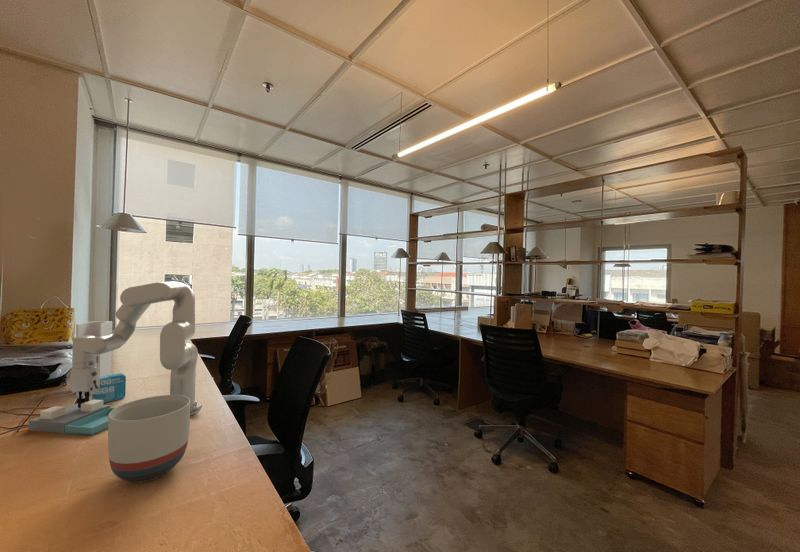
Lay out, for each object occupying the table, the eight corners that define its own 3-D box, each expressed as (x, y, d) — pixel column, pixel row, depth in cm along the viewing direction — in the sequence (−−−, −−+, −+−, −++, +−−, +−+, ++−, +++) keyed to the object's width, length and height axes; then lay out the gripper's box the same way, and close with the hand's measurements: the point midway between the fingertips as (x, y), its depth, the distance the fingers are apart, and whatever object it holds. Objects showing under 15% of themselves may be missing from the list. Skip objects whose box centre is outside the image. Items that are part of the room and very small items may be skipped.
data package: (92, 405, 155) (93, 379, 155) (91, 402, 158) (92, 377, 158) (125, 398, 164) (126, 374, 164) (123, 395, 167) (124, 372, 167)
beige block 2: (103, 407, 143) (103, 400, 143) (91, 411, 138) (91, 404, 138) (93, 406, 144) (93, 399, 144) (80, 410, 139) (80, 403, 139)
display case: (88, 383, 183) (89, 321, 183) (111, 382, 187) (112, 321, 187) (74, 390, 172) (76, 324, 173) (99, 389, 176) (100, 324, 176)
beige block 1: (65, 414, 135) (65, 407, 135) (51, 419, 130) (51, 412, 130) (54, 413, 136) (54, 406, 136) (40, 418, 131) (40, 411, 131)
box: (134, 415, 144) (135, 409, 144) (92, 435, 126) (92, 427, 126) (110, 414, 145) (110, 407, 145) (64, 433, 127) (64, 425, 127)
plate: (109, 414, 145) (110, 405, 145) (64, 433, 127) (64, 423, 127) (77, 411, 147) (78, 403, 147) (28, 430, 129) (28, 420, 129)
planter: (177, 450, 117) (178, 390, 117) (198, 472, 104) (200, 405, 104) (100, 476, 101) (102, 407, 101) (114, 507, 88) (116, 427, 88)
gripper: (108, 363, 144) (107, 404, 144) (78, 361, 146) (77, 402, 146) (90, 367, 137) (89, 411, 137) (59, 365, 139) (58, 409, 139)
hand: (83, 406), depth 141 cm, fingers closed
